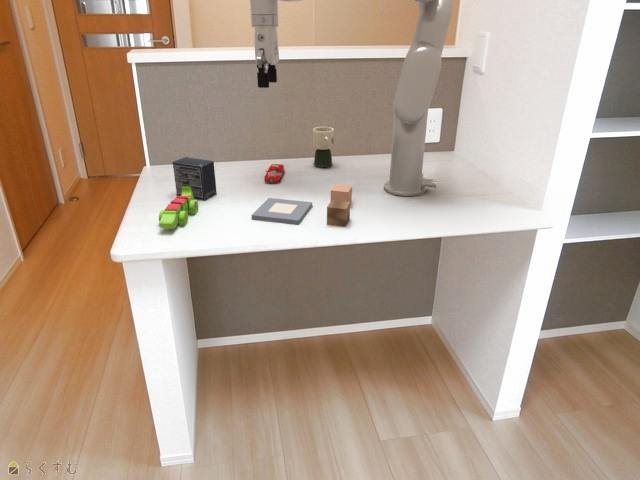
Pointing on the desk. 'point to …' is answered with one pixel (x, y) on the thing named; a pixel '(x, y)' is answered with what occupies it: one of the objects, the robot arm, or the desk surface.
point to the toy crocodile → (178, 210)
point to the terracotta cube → (341, 193)
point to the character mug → (323, 145)
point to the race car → (274, 173)
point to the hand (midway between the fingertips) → (267, 84)
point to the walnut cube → (338, 213)
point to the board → (282, 211)
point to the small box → (195, 177)
